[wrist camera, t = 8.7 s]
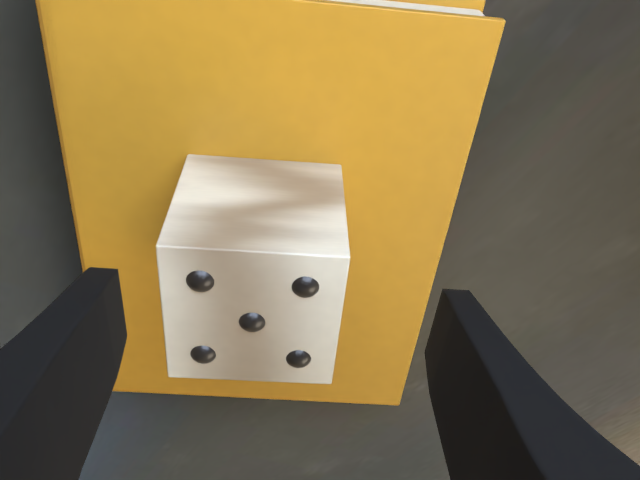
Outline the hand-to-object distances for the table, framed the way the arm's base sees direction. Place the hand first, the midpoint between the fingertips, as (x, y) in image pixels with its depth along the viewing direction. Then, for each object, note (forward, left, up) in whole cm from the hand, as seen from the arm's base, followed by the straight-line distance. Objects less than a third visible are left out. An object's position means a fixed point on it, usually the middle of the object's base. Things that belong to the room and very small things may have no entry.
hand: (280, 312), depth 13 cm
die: (+1, +3, -7) cm, 8 cm away
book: (+1, +4, -10) cm, 10 cm away
